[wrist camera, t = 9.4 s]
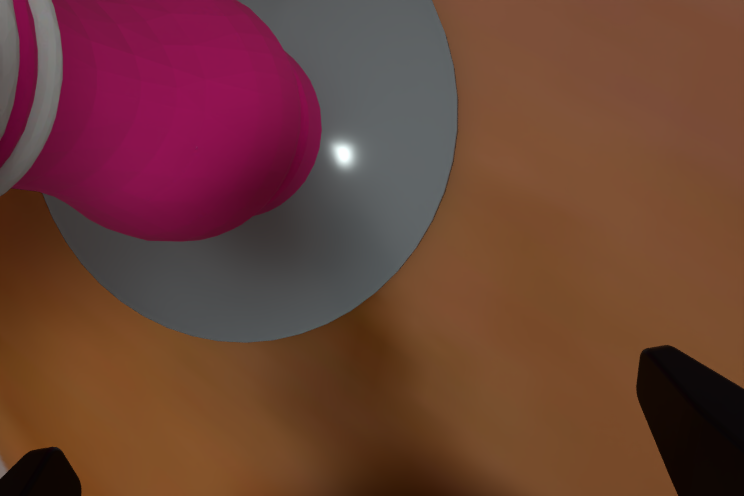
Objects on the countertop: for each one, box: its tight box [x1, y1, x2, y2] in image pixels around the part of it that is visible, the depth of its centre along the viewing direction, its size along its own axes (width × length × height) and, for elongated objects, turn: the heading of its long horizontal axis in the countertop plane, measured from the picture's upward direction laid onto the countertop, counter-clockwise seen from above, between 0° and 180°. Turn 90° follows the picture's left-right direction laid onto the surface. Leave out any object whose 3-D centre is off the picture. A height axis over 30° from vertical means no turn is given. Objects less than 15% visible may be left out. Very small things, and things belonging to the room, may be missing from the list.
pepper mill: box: [0, 0, 322, 242], centre depth 12 cm, size 7×7×20 cm
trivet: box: [42, 0, 458, 342], centre depth 23 cm, size 16×16×1 cm
